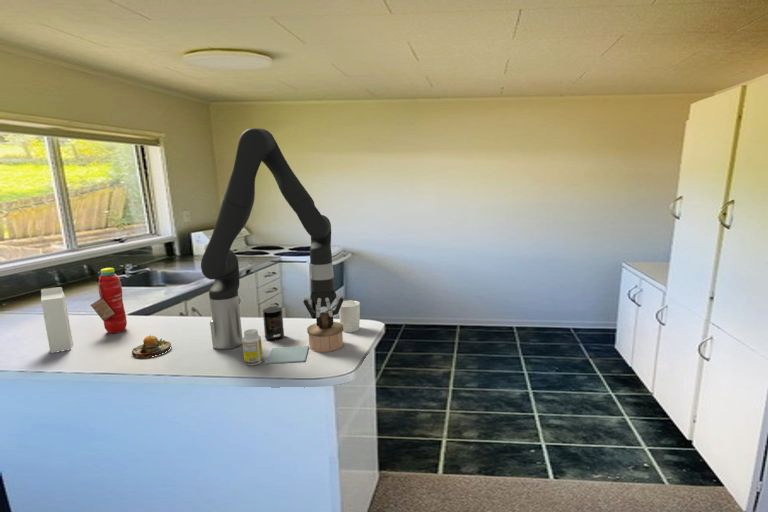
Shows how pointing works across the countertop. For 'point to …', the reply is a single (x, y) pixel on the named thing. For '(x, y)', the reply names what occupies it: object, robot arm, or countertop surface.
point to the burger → (151, 347)
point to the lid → (325, 327)
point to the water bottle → (110, 302)
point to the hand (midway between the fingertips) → (325, 326)
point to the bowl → (326, 343)
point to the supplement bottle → (252, 347)
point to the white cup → (350, 315)
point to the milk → (56, 319)
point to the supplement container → (273, 323)
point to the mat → (287, 355)
